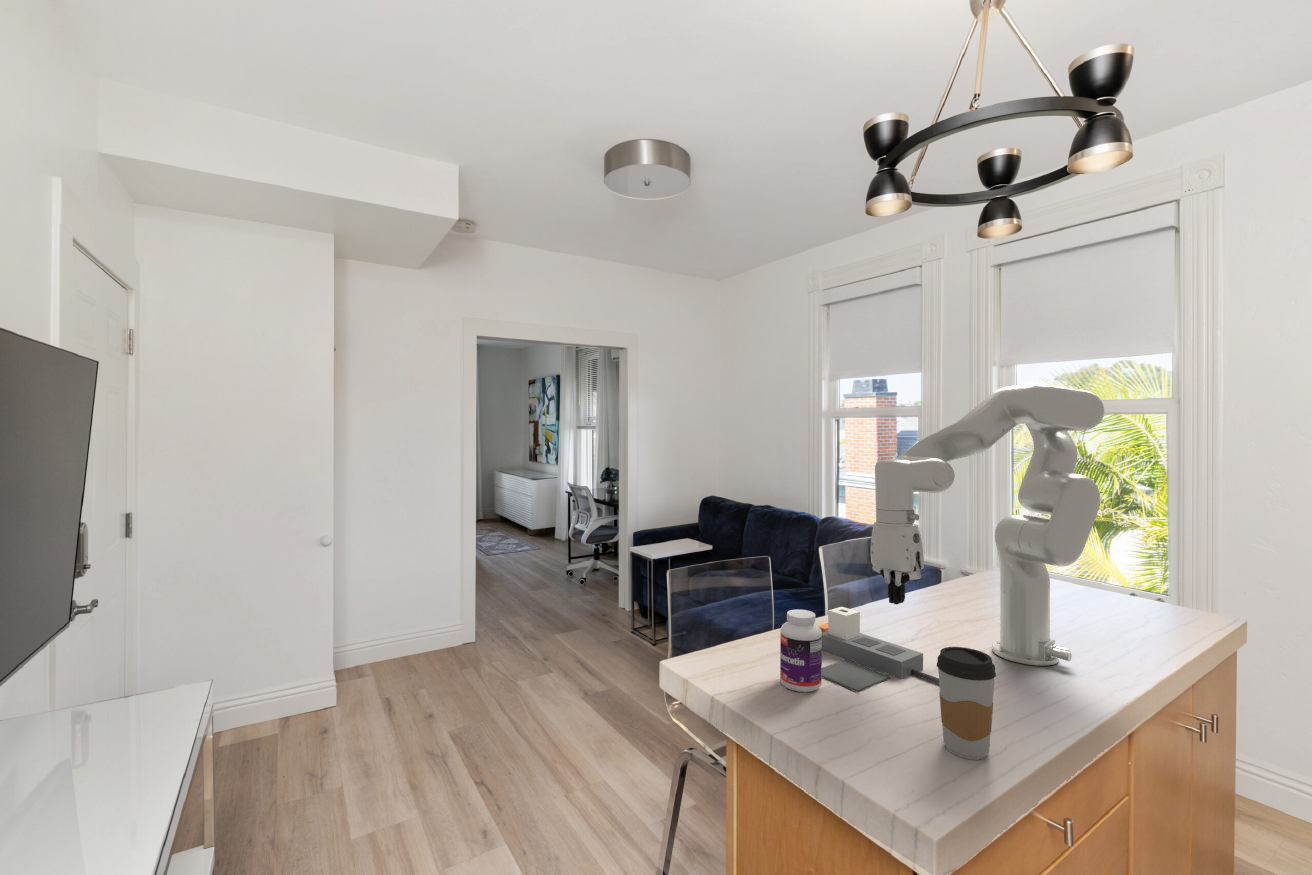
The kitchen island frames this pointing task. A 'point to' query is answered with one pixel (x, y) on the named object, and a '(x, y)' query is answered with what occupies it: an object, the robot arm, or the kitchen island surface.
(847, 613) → the block
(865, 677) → the mat
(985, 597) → the kitchen island surface
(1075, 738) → the kitchen island surface
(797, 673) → the pill bottle
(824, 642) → the power strip
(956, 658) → the coffee cup
